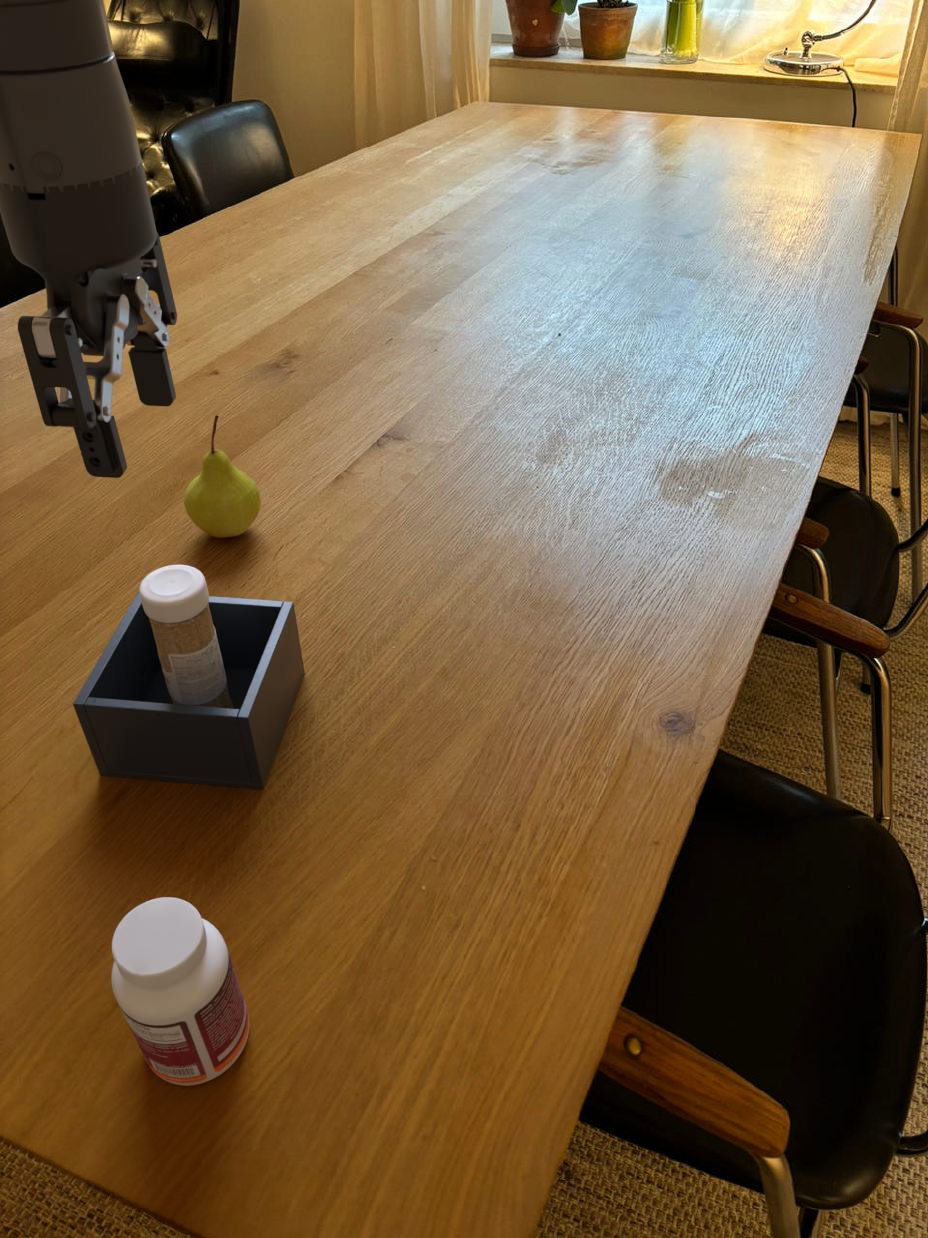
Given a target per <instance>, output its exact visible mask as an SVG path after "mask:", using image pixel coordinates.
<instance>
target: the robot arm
mask: <svg viewBox="0 0 928 1238" xmlns="http://www.w3.org/2000/svg"><path fill="white" fill-rule="evenodd" d="M109 26H110V25H109V20H108V17H107V12H106V7H105V1H104V0H0V216H1V220H2V223H3V226H4V230H5V233H6V236H7V240H8V243H9V247H10V249H11V252H12V254H13V256H14V257H15V259H16V260H18V262H19V263H21V264H22V265H24V266H26V267H28V268H31V269H32V270H34V271H35V272H36V273H38V275H40V276H41V277H42V278H43V280H44V283H45V284H44V285H45V286H44V287H45V292H46V309H47V310H46V311H45V312H43V313H42V314H41V315H35V316H34V315H21V316H20V317H19V319H18V321H17V332H18V336H19V339H20V344H21V346H22V351H23V353H24V357H25V361H26V364H27V367H28V368H27V369H28V372H29V375H30V378H31V382H32V386H33V390H34V394H35V397H36V400H37V404H38V408H39V411H40V415H41V419H42V422H43V424H44V425H45V426H46V427H55V428H57V427H62V428H73V431H74V434H75V437H76V440H77V444H78V448H79V452H80V455H81V457H82V462H83V464H84V467H85V471H86V472H87V473H88V474H89V475H90V476H92V477H96V478H111V479H120V478H121V477H122V476H123V475H124V474H125V472H126V471H127V469H128V463H127V460H126V456H125V452H124V448H123V445H122V442H121V441H122V440H121V437H120V434H119V433H120V432H119V430H118V426H117V422H116V418H115V415H112V413H113V394H114V393H113V391H114V383H116V382H117V381H119V380H120V379H121V377H122V376H123V362H124V361H123V359H124V350H125V348H126V345H127V346H128V347H129V346H130V349H128V351H127V352H128V357H129V361H130V365H131V366H130V367H131V370H132V375H133V378H134V382H135V386H136V391H137V394H138V399H139V400H140V402H141V403H142V404H143V405H145V406H149V407H170V406H172V404H173V403H174V402H175V400H176V399H177V393H176V389H175V384H174V380H173V375H172V371H171V366H170V362H169V356H168V351H167V348H168V346H169V344H170V340H171V337H170V332H169V329H168V326H175V325H176V324H177V321H178V312H177V307H176V303H175V299H174V295H173V290H172V286H171V281H170V277H169V272H168V268H167V265H166V260H165V256H164V251H163V246H162V242H161V238H160V235H159V233H158V231H157V227H156V223H155V217H154V212H153V208H152V207H153V206H152V204H151V198H150V193H149V188H148V184H147V183H148V182H147V179H146V174H145V170H144V169H145V168H144V165H143V164H144V163H143V159H142V154H141V150H140V144H139V140H138V139H139V138H138V135H137V129H136V125H135V120H134V116H133V111H132V107H131V102H130V99H129V96H128V92H127V90H126V87H125V84H124V80H123V77H122V75H121V72H120V69H119V65H118V62H117V57H116V53H115V52H114V45H113V40H112V36H111V32H110V27H109ZM149 291H150V292H151V291H152V292H154V293H155V294H156V295H157V299H158V303H157V301H156V300H155V299H154V297H153V296H152V294H151V293H150V292H149ZM83 356H89V357H102V358H101V359H100V360H98V361H84V359H83ZM89 380H94V395H93V396H94V397H93V396H92V392H91V387H90V384H89ZM56 388H59V389H60V390H59V398H58V394H57V390H56Z"/></svg>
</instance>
